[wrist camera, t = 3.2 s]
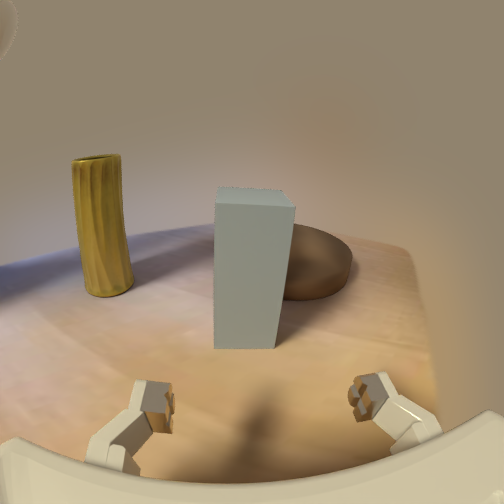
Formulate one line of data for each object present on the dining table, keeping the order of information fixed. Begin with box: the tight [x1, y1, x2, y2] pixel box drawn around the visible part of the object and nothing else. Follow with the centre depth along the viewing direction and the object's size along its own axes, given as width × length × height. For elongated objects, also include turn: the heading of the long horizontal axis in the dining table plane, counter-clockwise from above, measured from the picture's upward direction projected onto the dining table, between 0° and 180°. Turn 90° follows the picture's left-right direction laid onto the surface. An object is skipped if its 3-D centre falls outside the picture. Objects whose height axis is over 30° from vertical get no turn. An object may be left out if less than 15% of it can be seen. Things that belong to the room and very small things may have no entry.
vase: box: [72, 154, 134, 297], centre depth 25 cm, size 6×6×14 cm
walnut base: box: [283, 224, 352, 300], centre depth 36 cm, size 17×17×3 cm
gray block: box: [214, 187, 296, 349], centre depth 21 cm, size 5×5×12 cm
